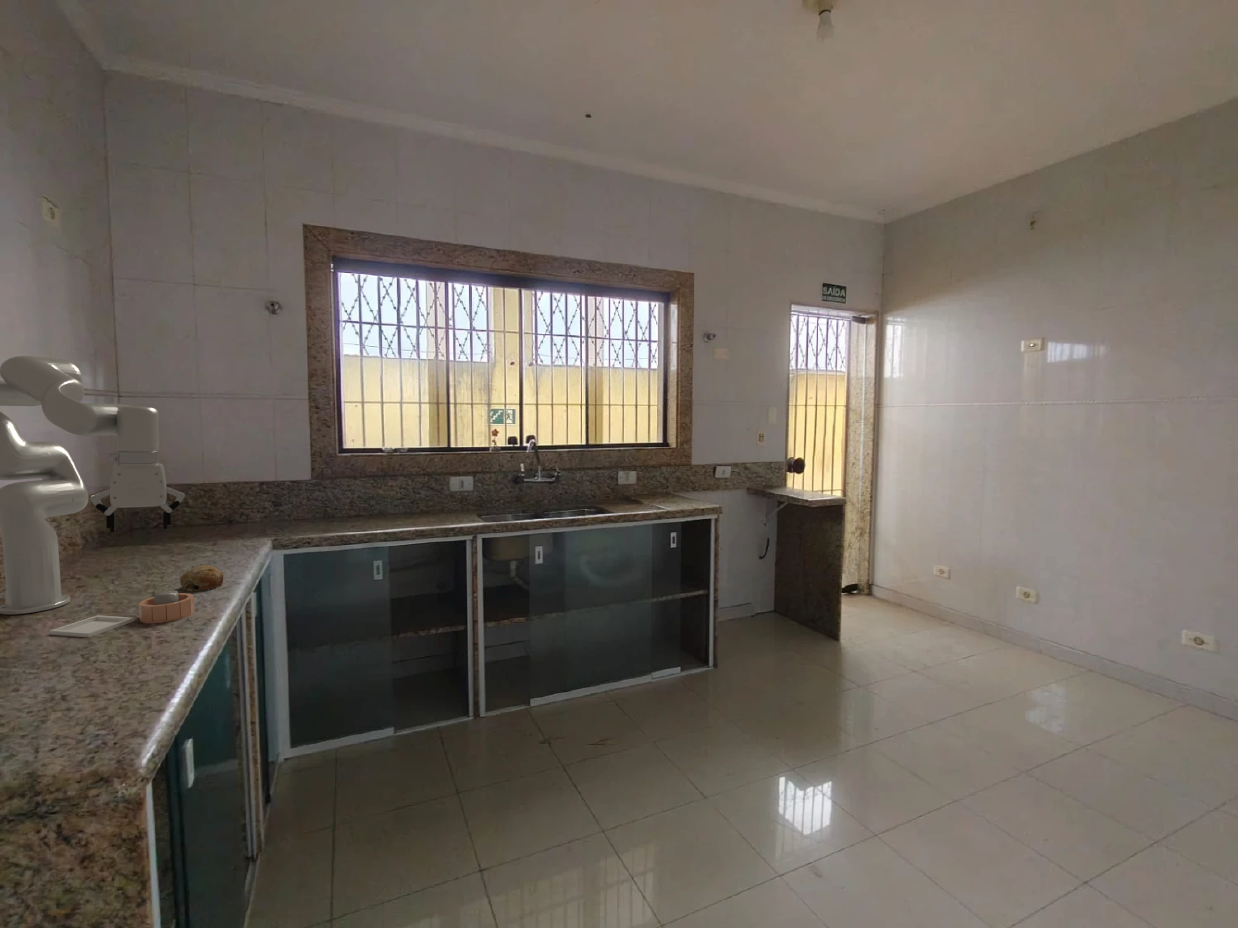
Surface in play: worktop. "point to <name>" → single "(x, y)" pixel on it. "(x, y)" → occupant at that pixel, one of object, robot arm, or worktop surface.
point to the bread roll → (201, 578)
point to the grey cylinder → (166, 597)
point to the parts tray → (92, 626)
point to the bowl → (166, 609)
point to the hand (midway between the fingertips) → (139, 529)
